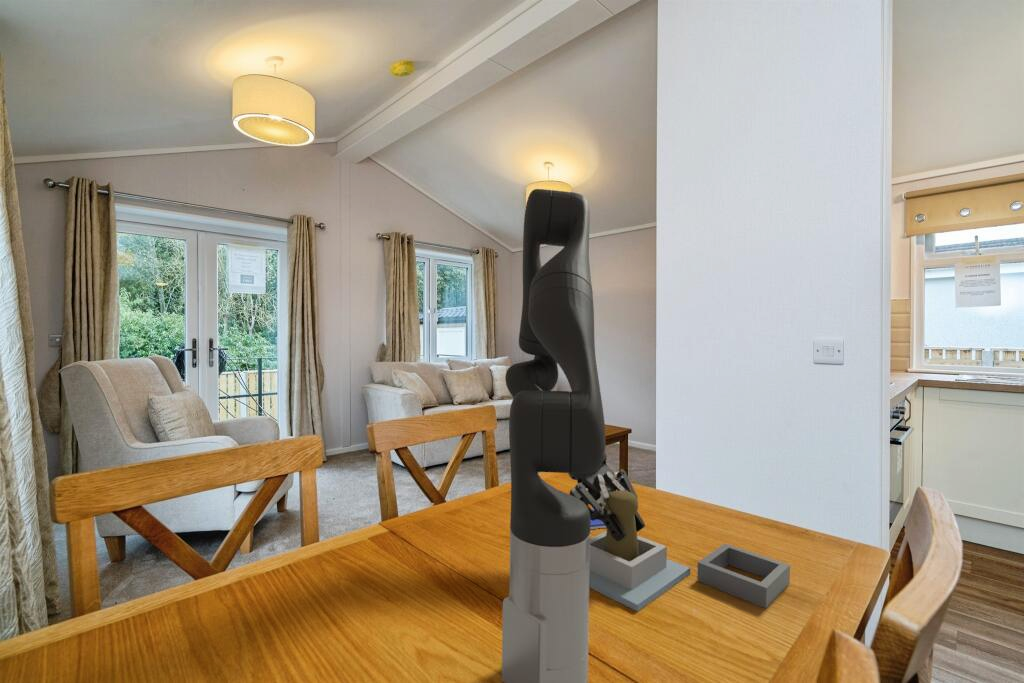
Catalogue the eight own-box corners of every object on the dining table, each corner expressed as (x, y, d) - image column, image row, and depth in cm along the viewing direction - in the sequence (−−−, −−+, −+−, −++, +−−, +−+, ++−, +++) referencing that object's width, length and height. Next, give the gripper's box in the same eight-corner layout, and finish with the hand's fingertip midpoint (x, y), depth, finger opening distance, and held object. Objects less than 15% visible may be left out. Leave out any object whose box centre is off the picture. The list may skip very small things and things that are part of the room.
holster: (766, 608, 70) (766, 588, 69) (697, 580, 77) (697, 562, 77) (789, 583, 77) (790, 564, 77) (724, 560, 84) (724, 543, 84)
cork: (613, 568, 76) (614, 500, 76) (596, 551, 82) (597, 488, 82) (646, 564, 78) (648, 497, 77) (628, 547, 83) (629, 485, 83)
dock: (637, 611, 68) (638, 580, 68) (554, 569, 80) (554, 543, 80) (690, 573, 79) (690, 547, 79) (610, 541, 91) (610, 518, 91)
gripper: (561, 441, 80) (621, 535, 71) (611, 429, 90) (669, 511, 81) (538, 465, 84) (591, 557, 75) (588, 452, 94) (641, 532, 85)
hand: (631, 533), depth 78 cm, fingers closed on cork, 4 cm apart
